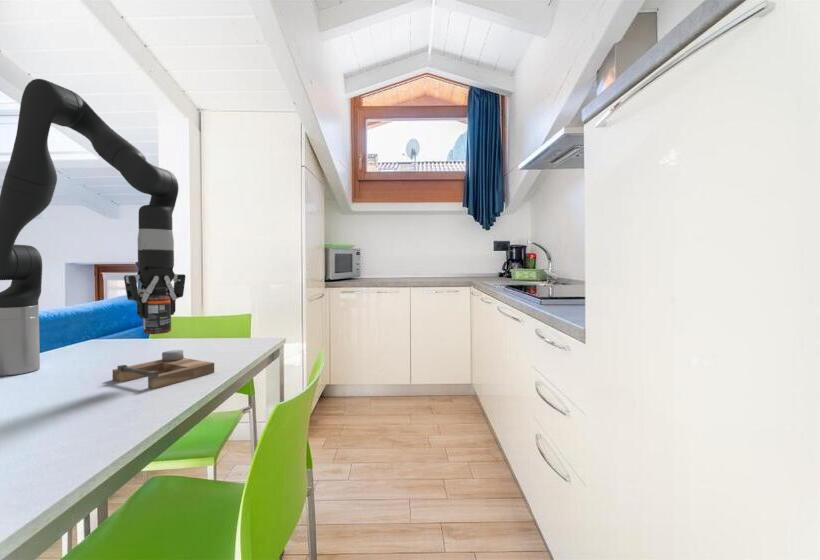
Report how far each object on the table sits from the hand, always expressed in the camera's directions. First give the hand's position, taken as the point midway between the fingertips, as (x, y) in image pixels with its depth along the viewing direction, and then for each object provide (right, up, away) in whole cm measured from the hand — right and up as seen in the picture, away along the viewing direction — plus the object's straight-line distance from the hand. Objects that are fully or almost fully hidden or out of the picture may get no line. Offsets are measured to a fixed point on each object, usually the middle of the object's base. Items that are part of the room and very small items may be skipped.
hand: (156, 316), depth 98 cm
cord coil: (-2, -13, +10) cm, 17 cm away
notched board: (0, -16, +3) cm, 16 cm away
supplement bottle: (0, -4, 0) cm, 4 cm away
